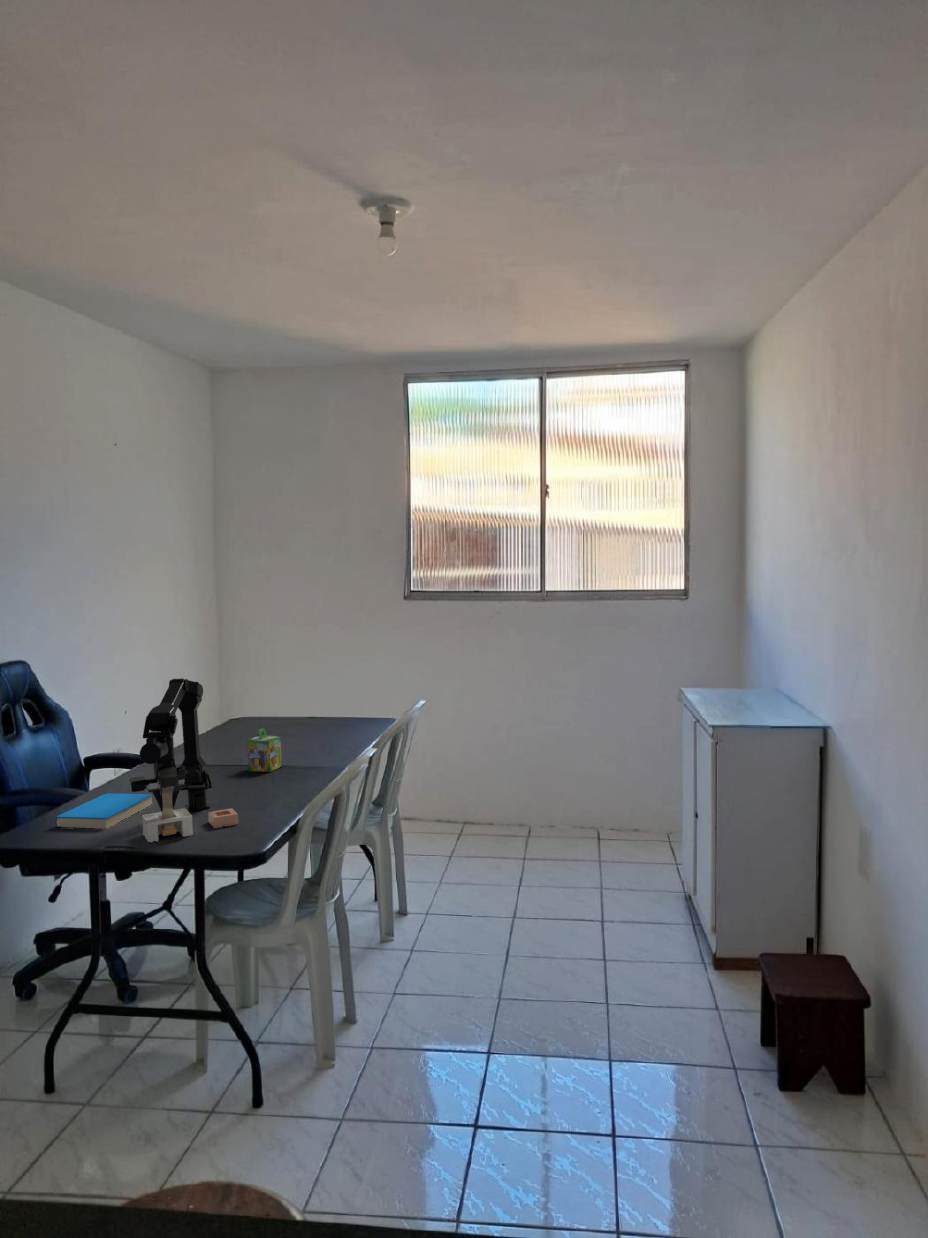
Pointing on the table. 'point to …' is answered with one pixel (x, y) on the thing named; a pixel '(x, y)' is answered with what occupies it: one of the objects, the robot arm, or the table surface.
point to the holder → (223, 818)
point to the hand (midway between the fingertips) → (167, 810)
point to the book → (104, 810)
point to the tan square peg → (167, 806)
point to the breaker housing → (155, 821)
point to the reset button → (168, 831)
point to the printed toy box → (264, 753)
